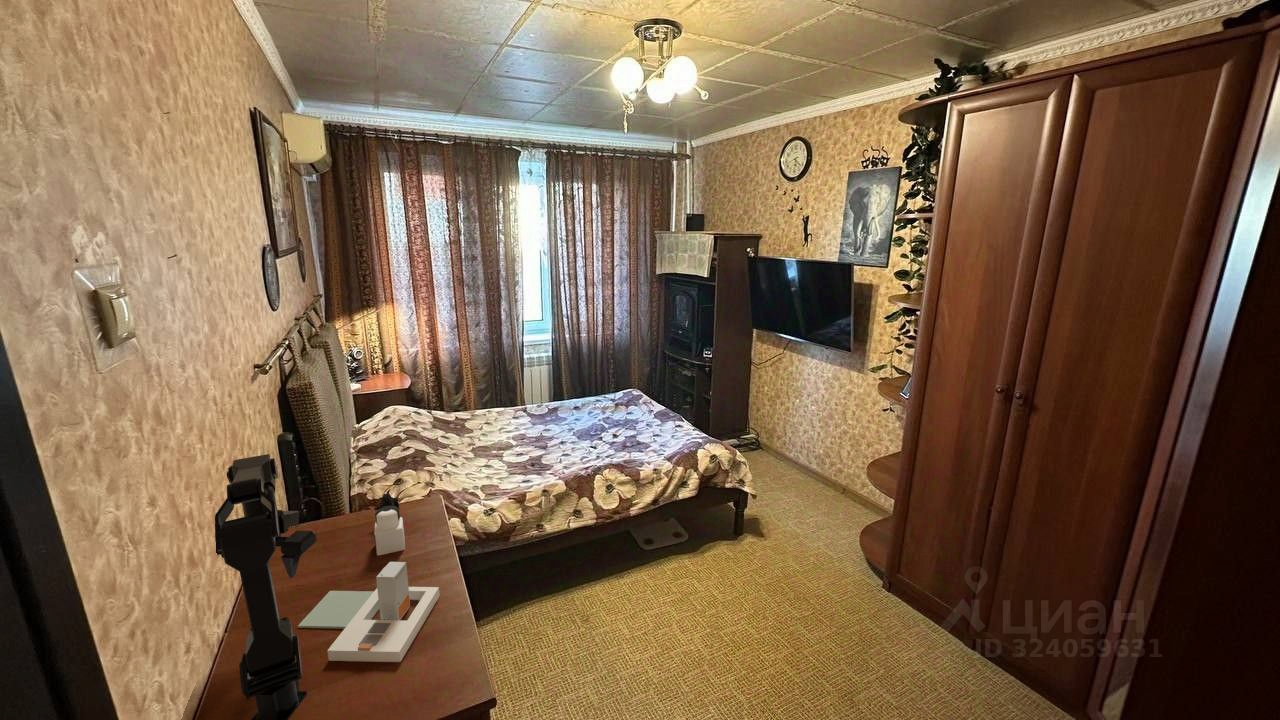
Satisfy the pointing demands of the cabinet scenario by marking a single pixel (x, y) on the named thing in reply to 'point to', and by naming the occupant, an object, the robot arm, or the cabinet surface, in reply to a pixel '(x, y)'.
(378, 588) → the skincare box
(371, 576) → the cabinet surface
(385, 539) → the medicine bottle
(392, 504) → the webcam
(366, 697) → the cabinet surface
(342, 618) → the mat
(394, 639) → the cream rectangular frame
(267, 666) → the robot arm
